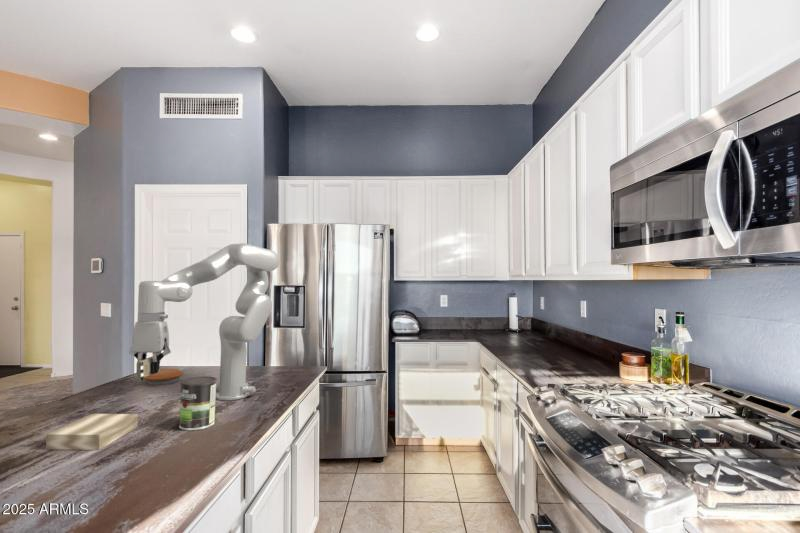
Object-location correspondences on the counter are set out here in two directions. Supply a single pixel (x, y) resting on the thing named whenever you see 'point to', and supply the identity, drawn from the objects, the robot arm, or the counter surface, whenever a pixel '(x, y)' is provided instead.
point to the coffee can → (197, 403)
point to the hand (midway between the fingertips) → (149, 372)
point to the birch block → (92, 432)
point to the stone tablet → (144, 368)
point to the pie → (164, 377)
